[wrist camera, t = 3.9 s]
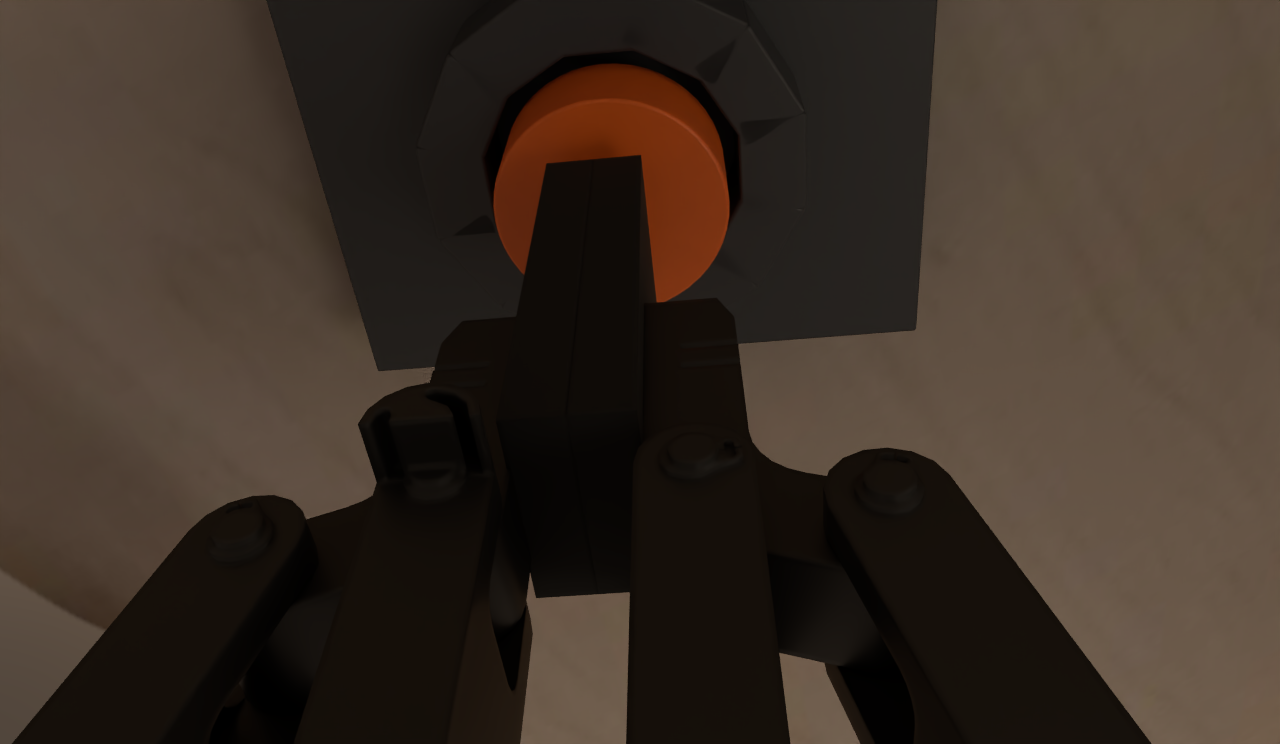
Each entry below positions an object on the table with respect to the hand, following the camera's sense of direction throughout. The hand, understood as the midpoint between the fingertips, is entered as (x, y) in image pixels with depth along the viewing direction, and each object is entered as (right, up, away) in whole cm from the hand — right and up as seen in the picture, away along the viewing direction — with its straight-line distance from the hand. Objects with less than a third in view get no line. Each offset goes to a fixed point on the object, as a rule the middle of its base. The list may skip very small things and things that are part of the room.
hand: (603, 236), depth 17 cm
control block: (0, +4, +5) cm, 6 cm away
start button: (0, +1, +2) cm, 3 cm away
